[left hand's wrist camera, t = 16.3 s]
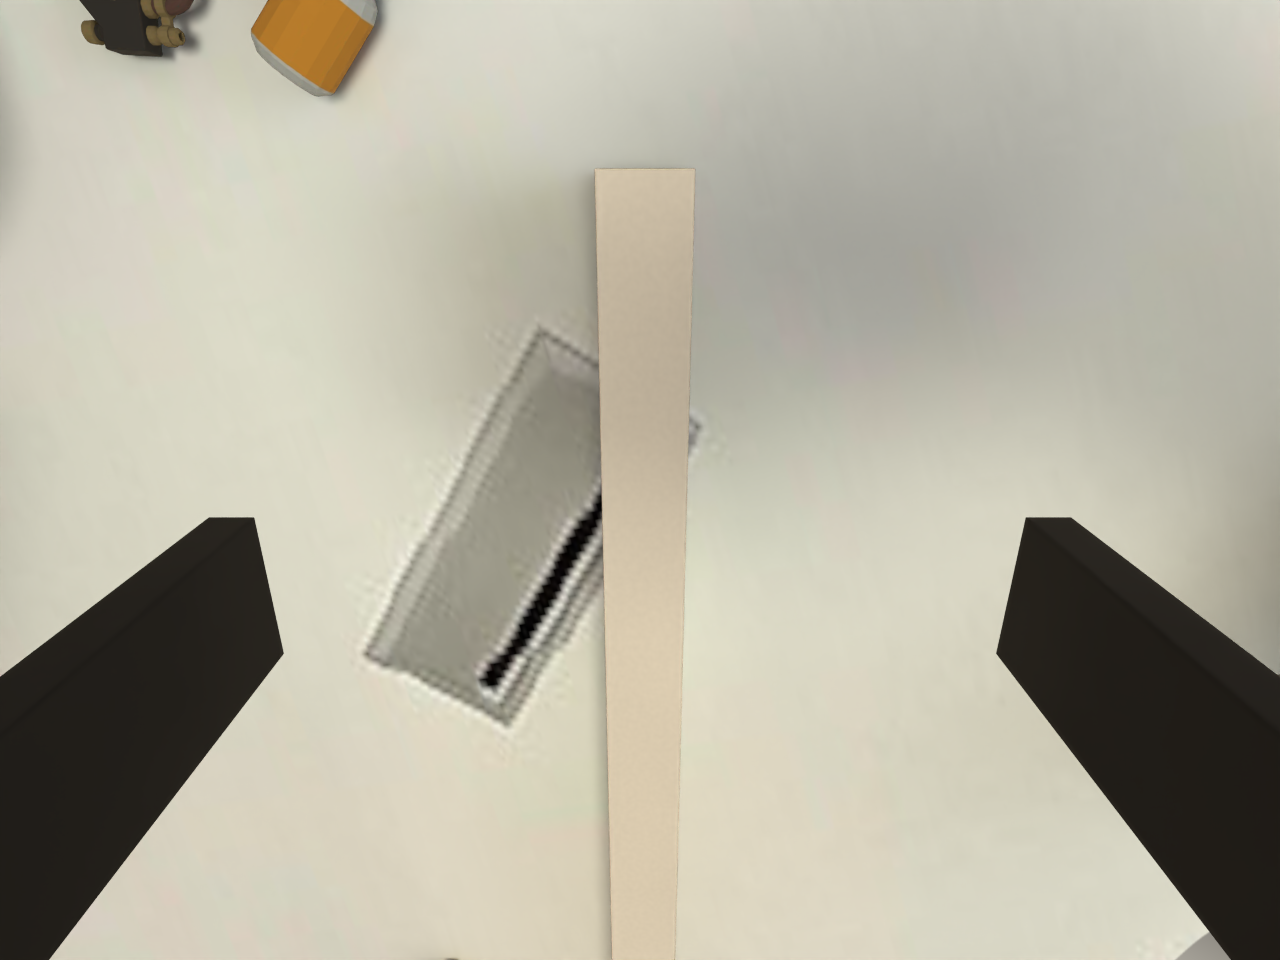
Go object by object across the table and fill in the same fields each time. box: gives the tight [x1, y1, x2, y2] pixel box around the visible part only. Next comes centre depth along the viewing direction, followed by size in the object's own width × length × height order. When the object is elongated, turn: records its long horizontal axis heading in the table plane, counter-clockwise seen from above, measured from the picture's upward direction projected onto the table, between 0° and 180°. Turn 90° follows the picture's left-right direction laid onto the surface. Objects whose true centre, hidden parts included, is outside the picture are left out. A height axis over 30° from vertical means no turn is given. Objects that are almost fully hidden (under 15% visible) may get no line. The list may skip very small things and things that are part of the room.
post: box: [595, 168, 695, 960], centre depth 51 cm, size 79×4×8 cm, turn 0°
